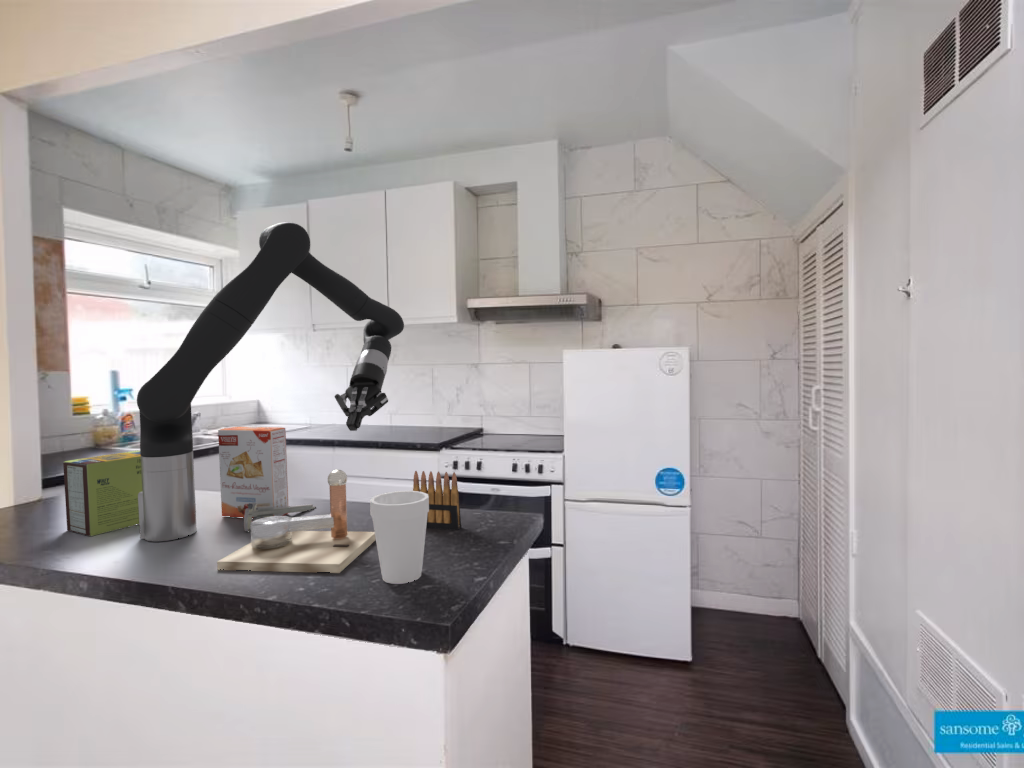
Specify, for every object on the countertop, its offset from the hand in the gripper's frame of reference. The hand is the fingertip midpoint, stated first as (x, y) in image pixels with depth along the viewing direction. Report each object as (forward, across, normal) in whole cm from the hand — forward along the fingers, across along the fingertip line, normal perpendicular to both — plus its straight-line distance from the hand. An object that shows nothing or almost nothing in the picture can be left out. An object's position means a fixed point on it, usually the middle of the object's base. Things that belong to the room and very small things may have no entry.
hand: (352, 428), depth 118 cm
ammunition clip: (+18, +19, +12) cm, 29 cm away
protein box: (+18, -55, +11) cm, 59 cm away
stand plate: (+29, -2, 0) cm, 29 cm away
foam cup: (+36, +20, -6) cm, 42 cm away
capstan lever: (+26, -3, 0) cm, 27 cm away
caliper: (+15, -18, +15) cm, 27 cm away
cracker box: (+13, -26, +16) cm, 33 cm away
